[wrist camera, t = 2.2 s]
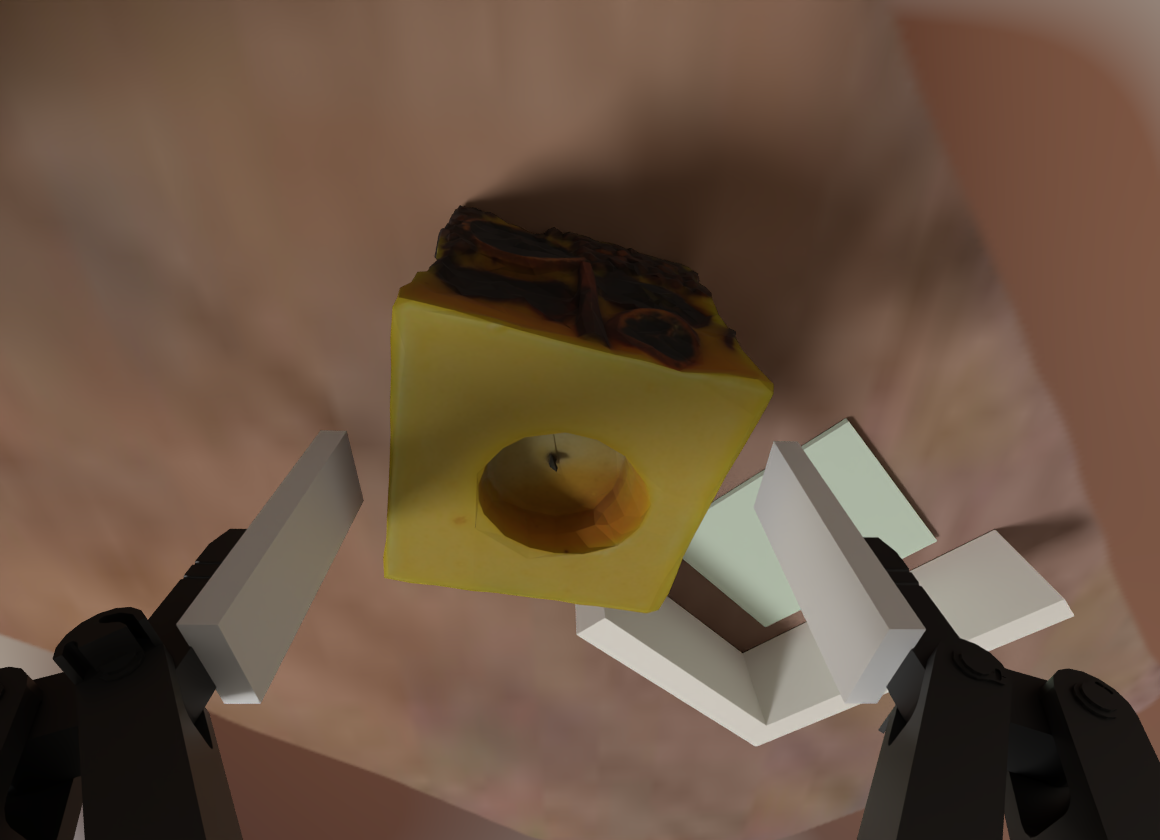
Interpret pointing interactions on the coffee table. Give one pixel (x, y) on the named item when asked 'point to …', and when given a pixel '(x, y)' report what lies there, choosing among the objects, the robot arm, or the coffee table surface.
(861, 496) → the pad
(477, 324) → the candle
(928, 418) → the coffee table surface
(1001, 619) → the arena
